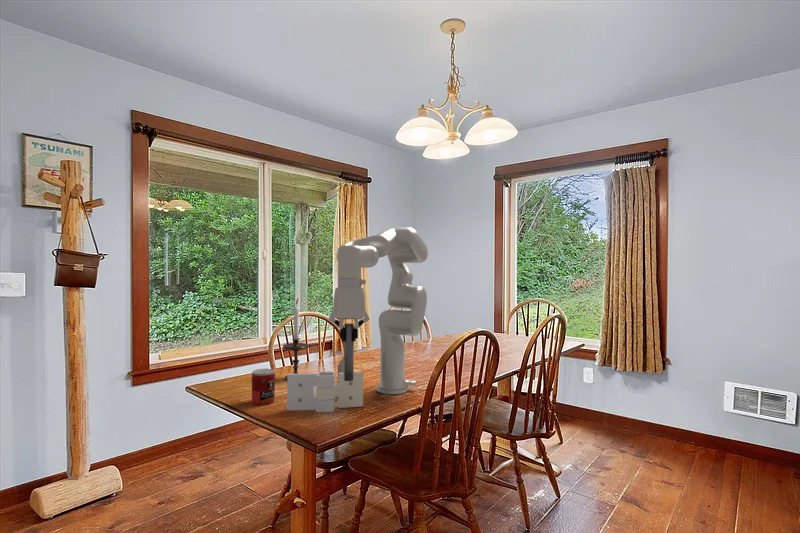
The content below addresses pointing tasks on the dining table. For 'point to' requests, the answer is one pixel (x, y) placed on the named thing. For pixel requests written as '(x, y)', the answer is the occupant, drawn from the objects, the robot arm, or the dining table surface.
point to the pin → (348, 352)
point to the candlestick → (295, 341)
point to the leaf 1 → (309, 391)
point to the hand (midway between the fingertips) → (348, 340)
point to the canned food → (263, 386)
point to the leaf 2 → (345, 391)
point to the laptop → (340, 370)
